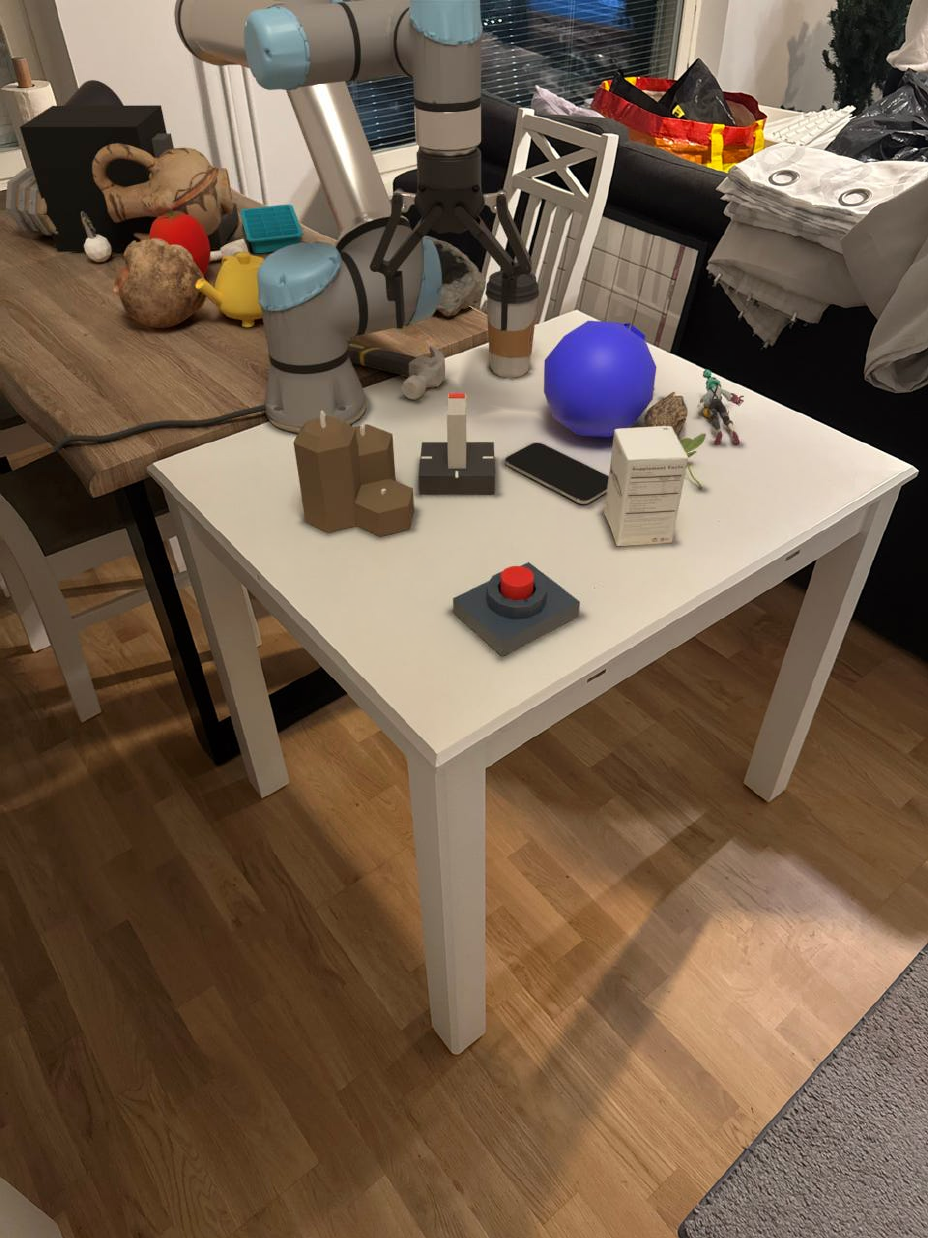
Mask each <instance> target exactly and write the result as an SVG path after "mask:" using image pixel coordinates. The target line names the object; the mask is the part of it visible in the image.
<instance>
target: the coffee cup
mask: <svg viewBox="0 0 928 1238" xmlns="http://www.w3.org/2000/svg"><path fill="white" fill-rule="evenodd" d="M503 272H504V271H503V270H502V269H501V270H498V271H495V272H493V273H491V274H490V275H489V277H488V282H486V286H485V293H484V294H485V296H486V304H487V307H486V308H487V315H486V316H487V333H488V335H487V336H488V352H489V361H490V362H489V363H490V369H491V370H492V373H493V374H495V375H496V376H498V377H501V378H507V379H508V378H509V379H512V378H513V379H514V378H519V377H522V376H524V375H526V374H527V373H528V370H529V369H530V366H531V365H530V364H531V357H532V352H533V345H534V344H533V343H534V334H535V327H536V319H537V315H536V313H537V304H538V297H539V296H540V289H539V288H540V287H539V283H538V281H537V276H536V275H535V274H534V273H532V272H530V273H529V274H523V275H520V276H519V277H518V279H517V299H516V302H515V303H508V317H507V331H501V291H502V273H503Z"/></svg>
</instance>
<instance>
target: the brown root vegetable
mask: <svg viewBox="0 0 928 1238" xmlns="http://www.w3.org/2000/svg"><path fill="white" fill-rule="evenodd" d="M123 259H124V262H125V265H124V267H123V268H120V269H119V270H118V272H117V273H116V274H115V281H114V287H113V292H114V294H115V295H116V296H118V297H119V300H120V302H121V305H122V306H123V309H124V311H125V312H126V313H127V314H128V315H129V316H130V317H132V318H133V319H134V320H136V321H137V322H139V323H140V324H143V325H145V326H148V327H152V328H157V329H167V328H173V327H174V326H177V325H180V324H181V323H182V322H184V321H186V320H187V319H189V318H190V317H191V316H193V315H194V314H195V313H197V311H199V310H200V308H202V306H203V305H204V304H205V301H206V298H207V296H206V295H204V294H203V293H202V292H201V291H199V290H198V289H197V288H196V283H197V281H198V280H199V279H201V278H203V279H205V275H204V276H203V274H202V272H201V271H200V269H199V268H198V266H197V265H196V264H195V262H194V261H193V257H192V255H191V254H190V253H189V252H188V251H187V250H186V249H185V248H183V247H182V246H180V245H169V244H168V243H167V242H166V241H164V240H162V239H157V238H153V239H152V240H141V241H140V242H136V241H133V242H132V243H131V244H129V245H128V247H127V248H126V250H125V252H123Z"/></svg>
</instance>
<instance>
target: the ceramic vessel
mask: <svg viewBox="0 0 928 1238" xmlns="http://www.w3.org/2000/svg"><path fill="white" fill-rule="evenodd" d="M116 159H127V160H132V161H135V162H138V163H140V164H143V165H144V166H146V167H147V168H148V169H149V171H150V172H151V173H150V175H149V179H150V180H149V181H147V182H145V183H141V184H137V185H133V186H128V187H122V186H119V185H116V184H114V183H113V182H112V181H111V180H110V179H109V178H108V177H107V175H106V174H105V173H106V168H107V166H108V164H109V163H110V162H111V161H113V160H116ZM92 172H93V178H94V181H95V183H96V184H97V186H98V187H99V188H100V190H101V191H102V192H103V194H104V196H105V200H106V204H107V208H108V212H109V214H110V216H111V218H112V219H113V221H114V222H121V221H124V220H127V219H130V218H137V217H143V216H151V217H160V216H163V215H167V214H164V213H169V214H170V212H173V213H179V212H181V213H182V214H187V215H190V216H192V217H193V218H195V219H196V220H197V221H198V222H199V223H200V224H201V225H202V227H203V228H204V230H205V232H206V235H207V236H208V235H210V234H212V233H213V232H214V231H215V230H216V229H217V228H218V227H219V225H220V223H221V219H222V217H223V216H224V215H226V214H232V212H233V205H232V203H233V201H232V200H233V195H232V188H231V179H230V176H229V172H228V169H227V168H225V167H223V168H217V167H215V166H214V165H212V164H211V163H210V161H209V160H208V158H207V157H206V156H205V155H204V154H203V153H202V152H201V151H199V150H197V149H194V148H191V147H174V148H173V149H169V150H167V151H165V152H164V153H163V154H161V155H160V157H159V158H154V157H153V156H152V155H150V154H149V153H147V152H146V151H144V150H141V149H139V148H136V147H133V146H130V145H125V144H118V143H117V144H110V145H107V146H105V147H103V148H102V149H101V150H99V151H98V153H97V154H96V156H95V158H94V160H93V164H92ZM149 235H150V233H149V234H143V233H139V232H137V233H134V236H135V237H137V238H139V239H140V240H149Z"/></svg>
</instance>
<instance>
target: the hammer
mask: <svg viewBox="0 0 928 1238" xmlns="http://www.w3.org/2000/svg"><path fill="white" fill-rule="evenodd" d="M348 350H349V358H350V361H351V363H352V364H355V365H361V366H364V367H367V368H372V369H375V370H376V369H377V370H380V371H384V372H388V373H392V374H395V375H400V376H404V377H408V378H406V379H405V380H404V381H403V382H402V386H401V388H402V392H403V394H404V396H405V397H406V398H407V399H410V400H415V401H416V400H418V399H419V398H421V397H422V396H423V395H424V394H425V392H426V390H427V388H437V387H439V386H440V385H441V384H442V383H443V382H444V380H445V379H446V360H445V355H444V354H443V353H442V351H440V350H438V349H437V348H436V347H435V346H432V345H430V346H429V357H428V356H423V355H418V356H414V355H409V354H406V353H400V352H396V351H392V350H388V349H383V348H380V347H376V346H372V345H368V344H365V343H359V342H356V341H352V340H350V339H348Z"/></svg>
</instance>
